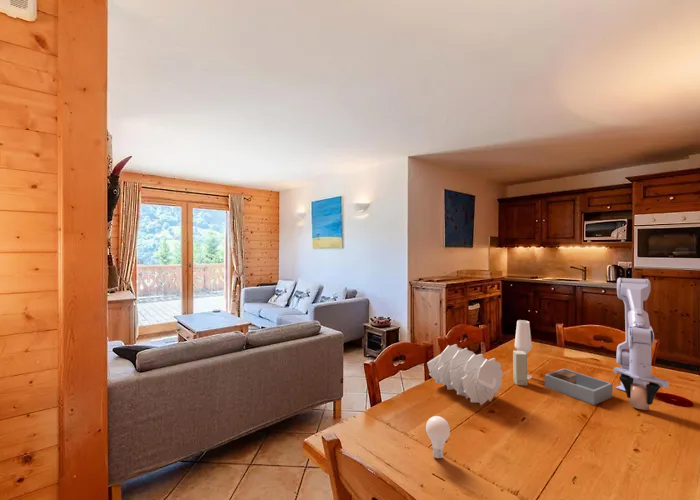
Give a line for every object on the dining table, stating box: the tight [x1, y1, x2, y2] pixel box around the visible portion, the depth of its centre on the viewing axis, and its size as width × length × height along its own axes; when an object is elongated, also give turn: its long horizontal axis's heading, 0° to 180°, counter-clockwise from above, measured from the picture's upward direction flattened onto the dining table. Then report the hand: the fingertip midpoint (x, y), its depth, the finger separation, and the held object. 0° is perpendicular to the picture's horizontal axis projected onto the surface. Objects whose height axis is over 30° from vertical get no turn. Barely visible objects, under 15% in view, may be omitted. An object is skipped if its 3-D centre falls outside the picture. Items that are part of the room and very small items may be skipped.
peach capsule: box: [629, 383, 650, 411], centre depth 115 cm, size 5×5×7 cm
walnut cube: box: [556, 371, 576, 384], centre depth 133 cm, size 5×5×5 cm
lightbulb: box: [425, 415, 451, 459], centre depth 90 cm, size 6×6×11 cm
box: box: [512, 350, 528, 386], centre depth 137 cm, size 5×4×13 cm
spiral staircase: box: [426, 343, 504, 406], centre depth 127 cm, size 18×18×25 cm
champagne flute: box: [514, 319, 533, 380], centre depth 145 cm, size 7×7×24 cm
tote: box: [544, 368, 614, 406], centre depth 129 cm, size 14×18×5 cm
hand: (639, 400), depth 115 cm, fingers closed on peach capsule, 5 cm apart
